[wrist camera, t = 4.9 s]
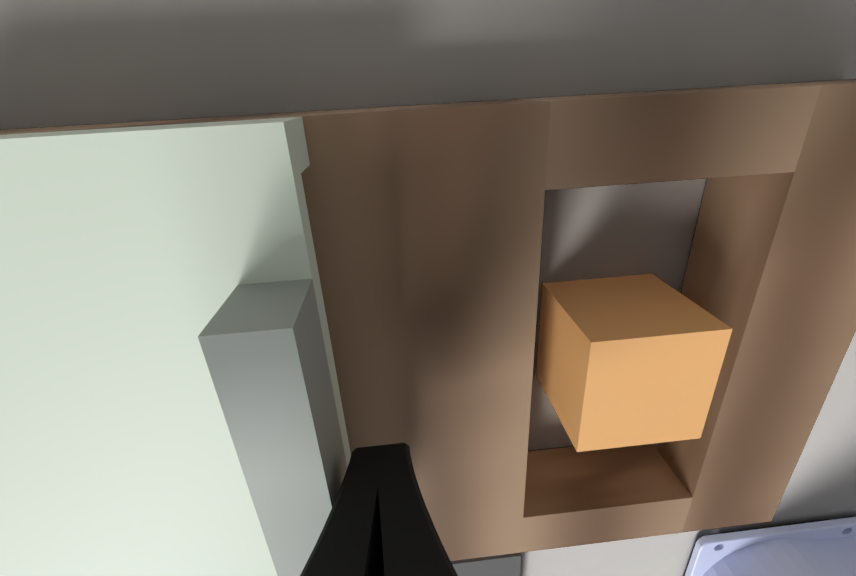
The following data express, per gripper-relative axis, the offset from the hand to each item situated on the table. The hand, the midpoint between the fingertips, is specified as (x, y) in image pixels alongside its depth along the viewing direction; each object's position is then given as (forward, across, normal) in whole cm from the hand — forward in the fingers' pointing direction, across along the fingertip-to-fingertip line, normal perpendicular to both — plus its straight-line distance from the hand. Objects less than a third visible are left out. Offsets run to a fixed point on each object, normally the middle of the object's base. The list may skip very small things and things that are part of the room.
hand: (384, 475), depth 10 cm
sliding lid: (+2, +6, 0) cm, 7 cm away
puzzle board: (+6, -1, 0) cm, 6 cm away
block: (+6, -8, 0) cm, 10 cm away
